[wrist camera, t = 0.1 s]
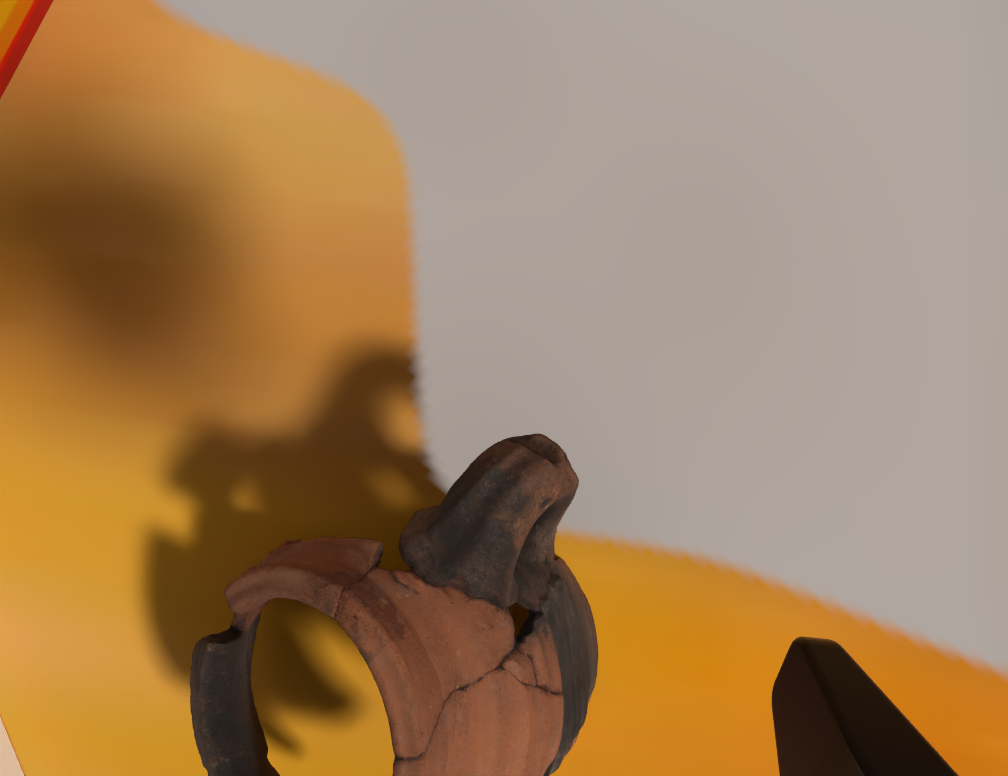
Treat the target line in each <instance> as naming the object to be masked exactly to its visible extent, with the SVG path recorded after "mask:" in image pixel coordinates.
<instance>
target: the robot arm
mask: <svg viewBox="0 0 1008 776" xmlns="http://www.w3.org/2000/svg"><path fill="white" fill-rule="evenodd" d="M772 711H773V720H774V729H775V738H776V746H777V755H778V764H779V773H780V776H959V775H958V774H957V773H956V772H955V771H954V770H953V769H952V768H951V767H950V765H949V764H948V763H947V762H946V761H945V760H944V759H943V758H942V757H941V756H940V754H939V753H938V752H937V751H936V750H935V749H934V748H933V747H932V746H931V744H930V743H929V742H928V741H927V740H926V739H925V738H924V737H923V736H922V735H921V733H920V732H919V731H918V730H917V729H916V728H915V727H914V726H913V725H912V723H911V722H910V721H909V720H908V719H907V718H906V717H905V716H904V715H903V714H902V712H901V711H900V710H899V709H898V708H897V707H896V706H895V705H894V704H893V702H892V701H891V700H890V699H889V698H888V697H887V696H886V695H885V694H884V693H883V691H882V690H881V689H880V688H879V687H878V686H877V685H876V684H875V683H874V682H873V680H872V679H871V678H870V677H869V676H868V675H867V674H866V673H865V672H864V670H863V669H862V668H861V667H860V666H859V665H858V664H857V663H856V662H855V661H854V659H853V658H852V657H851V656H850V655H849V654H848V653H847V652H846V651H845V649H844V648H843V647H842V646H841V645H839V644H838V643H837V642H835V641H833V640H829V639H821V638H812V637H798V638H796V639H795V640H794V641H793V642H792V644H791V645H790V648H789V650H788V652H787V655H786V657H785V659H784V662H783V664H782V666H781V669H780V671H779V673H778V676H777V678H776V680H775V683H774V686H773V691H772Z"/></svg>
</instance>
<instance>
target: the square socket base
mask: <svg viewBox="0 0 1008 776" xmlns="http://www.w3.org/2000/svg"><path fill="white" fill-rule="evenodd" d="M0 776H24V774H23V771H22V769H21V766H20V764H19V761H18V759H17V757H16V754H15V752H14V749H13V747H12V744H11V742H10V740H9V737H8V735H7V732H6V730H5V727H4V725H3V723H2V720H1V718H0Z"/></svg>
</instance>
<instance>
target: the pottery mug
mask: <svg viewBox="0 0 1008 776" xmlns="http://www.w3.org/2000/svg"><path fill="white" fill-rule="evenodd" d="M578 482H579V480H578V477H577V475H576V473H575V472H574V470H573V469H572V467H571V464H570V462H569V460H568V458H567V456H566V453H565V452H564V451H563V450H562V449H561V447H560V446H559V445H558V444H557V443H555V442H553V441H552V440H551V439H549V438H548V437H546V436H545V435H542V434H532V435H524V436H518V437H510V438H507V439H504V440H502V441H500V442H497V443H496V444H494V445H492V446H491V447H490V448H488V449H487V450H485V451H484V452H483V453H481V454H480V455H479V456H478V457H477V458H476V459H475V460H474V461H473V462H472V463H471V464H470V466H469V467H468V468H467V470H466V471H465V472H464V473H463V474H462V475H461V476H460V477H459V479H458V480H457V481H456V482H455V483H454V484H453V485H452V487H451V488H450V490H449V491H448V493H447V495H446V497H445V498H444V500H443V501H442V503H441V504H440V505H438V506H434V507H430V508H425V509H421V510H419V511H417V512H416V513H415V514H414V515H413V517H412V518H411V520H410V522H409V524H408V526H407V527H406V528H405V529H404V530H403V531H402V533H401V536H400V541H399V551H400V554H401V557H402V559H403V561H404V562H405V563H406V564H407V565H408V566H409V567H410V570H409V571H401V570H392V571H391V570H387V569H382V568H379V566H378V564H379V563H380V559H381V556H382V554H383V546H382V543H381V542H380V541H377V540H374V539H368V538H363V539H361V538H350V537H344V538H336V537H321V538H316V539H312V540H307V541H303V542H302V541H301V540H299V539H298V540H293V541H292V540H287V541H285V542H283V543H282V544H281V546H280V547H279V548H278V549H276V550H275V551H271V552H269V553H268V554H267V555H266V557H265V558H264V560H263V561H262V563H261V564H260V565H259V566H254V567H251V568H249V569H248V570H247V571H246V572H244V573H243V574H241V575H240V576H239V577H237V578H236V579H235V580H234V581H232V582H231V583H230V584H229V585H228V586H227V587H226V589H225V591H224V595H225V597H226V599H227V602H228V605H229V607H230V609H231V610H232V611H233V612H235V614H234V617H233V621H232V624H231V626H230V628H229V629H228V630H226V631H223V632H221V633H219V634H212V635H209V636H206V637H204V638H202V639H201V640H200V641H198V642H197V643H196V645H195V648H194V651H193V655H192V666H191V676H190V688H191V696H190V704H191V714H192V722H193V729H194V736H195V740H196V744H197V748H198V751H199V754H200V756H201V760H202V764H203V766H204V767H205V768H206V770H207V771H208V776H280V775H279V774H278V772H277V771H276V770H275V768H274V767H273V766H272V765H271V764H270V762H269V761H268V758H267V753H268V747H267V743H266V739H265V737H264V732H263V729H262V727H261V724H260V721H259V718H258V715H257V711H256V708H255V705H254V700H253V694H252V688H251V680H250V677H251V659H252V653H253V646H254V642H255V637H256V630H257V627H258V623H259V620H260V614H261V611H262V610H263V608H264V607H265V606H266V605H267V604H268V603H269V602H270V601H271V600H272V599H274V598H288V599H295V600H298V601H301V602H303V603H306V604H308V605H310V606H312V607H313V608H315V609H318V610H320V611H321V612H323V613H325V614H327V615H329V616H330V617H332V618H334V619H336V620H337V621H338V623H339V624H340V626H341V627H342V628H343V630H344V631H345V632H346V633H347V634H348V635H349V637H350V638H351V639H352V641H353V642H354V643H355V645H356V646H357V648H358V650H359V652H360V653H361V655H362V656H363V658H364V660H365V661H366V663H367V665H368V667H369V669H370V671H371V673H372V675H373V678H374V680H375V681H376V683H377V686H378V688H379V691H380V694H381V696H382V699H383V702H384V706H385V710H386V713H387V716H388V720H389V726H390V732H391V738H392V745H393V750H394V754H395V759H394V764H393V776H549V775H550V774H552V773H553V772H555V771H556V770H557V769H558V768H559V766H560V764H561V762H562V760H563V759H564V757H565V756H566V755H567V753H568V752H569V751H570V749H571V748H572V747H573V745H574V744H575V742H576V739H577V737H578V734H579V730H580V729H581V728H582V726H583V724H584V722H585V718H586V714H587V706H588V703H589V700H590V698H591V694H592V692H593V689H594V686H595V682H596V676H597V664H598V644H597V637H596V629H595V624H594V619H593V615H592V612H591V608H590V605H589V603H588V600H587V598H586V596H585V594H584V593H583V591H582V590H581V588H580V585H579V583H578V582H577V580H576V578H575V576H574V575H573V573H572V572H571V570H570V569H569V567H568V566H567V564H566V563H565V562H564V560H562V559H560V558H558V559H556V560H554V555H555V552H554V540H555V534H556V529H557V525H558V524H559V522H560V520H561V518H562V516H563V515H564V513H565V511H566V510H567V508H568V507H569V505H570V503H571V501H572V500H573V498H574V495H575V493H576V490H577V487H578ZM515 602H516V603H518V604H519V605H521V606H522V607H524V608H526V609H527V610H528V611H529V617H528V619H527V620H526V621H525V623H524V626H523V627H522V629H521V630H520V631H519V634H518V636H517V637H516V638H515V637H514V632H515V628H514V622H513V618H512V616H511V615H510V613H509V609H508V607H509V606H512V605H513V604H514V603H515Z"/></svg>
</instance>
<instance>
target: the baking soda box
mask: <svg viewBox="0 0 1008 776" xmlns="http://www.w3.org/2000/svg"><path fill="white" fill-rule="evenodd" d="M52 2H53V0H0V98H1V96H2V94H3V93H4V91H5V89H6V87H7V85H8V83H9V81H10V80H11V78H12V76H13V74H14V72H15V70H16V68H17V67H18V65H19V63H20V61H21V59H22V57H23V55H24V54H25V52H26V50H27V48H28V46H29V44H30V42H31V41H32V39H33V37H34V35H35V33H36V31H37V29H38V28H39V26H40V24H41V22H42V20H43V18H44V17H45V15H46V13H47V11H48V9H49V7H50V5H51V4H52Z"/></svg>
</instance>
